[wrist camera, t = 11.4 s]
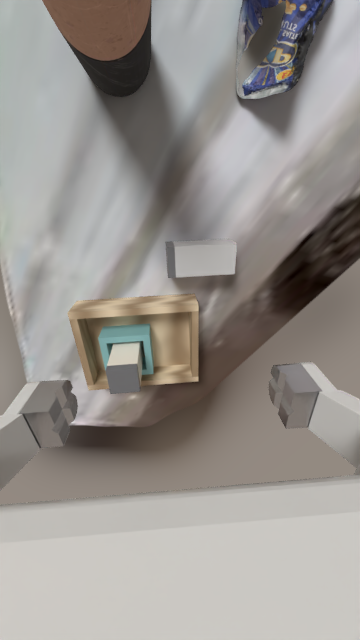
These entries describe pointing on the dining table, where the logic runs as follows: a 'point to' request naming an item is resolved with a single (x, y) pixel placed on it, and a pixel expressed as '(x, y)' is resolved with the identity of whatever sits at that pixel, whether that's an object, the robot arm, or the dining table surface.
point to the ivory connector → (125, 367)
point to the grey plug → (201, 258)
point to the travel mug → (107, 39)
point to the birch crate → (167, 341)
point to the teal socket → (128, 335)
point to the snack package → (278, 44)
